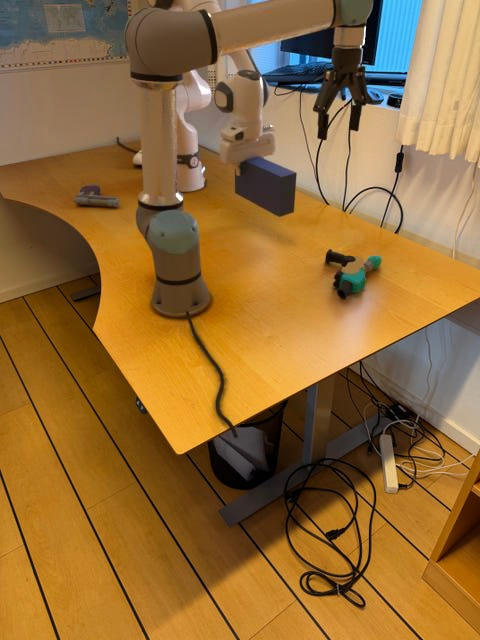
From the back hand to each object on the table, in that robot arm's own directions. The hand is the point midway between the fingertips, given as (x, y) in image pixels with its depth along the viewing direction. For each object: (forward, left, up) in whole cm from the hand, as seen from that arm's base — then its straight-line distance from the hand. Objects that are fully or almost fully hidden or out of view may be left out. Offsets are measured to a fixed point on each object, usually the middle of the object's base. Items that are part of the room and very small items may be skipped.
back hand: (248, 172), depth 157 cm
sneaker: (-81, +16, -17) cm, 84 cm away
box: (+8, -1, -8) cm, 11 cm away
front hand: (+31, +5, +17) cm, 35 cm away
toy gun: (-53, -27, -17) cm, 62 cm away
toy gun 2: (+47, -9, -17) cm, 51 cm away
